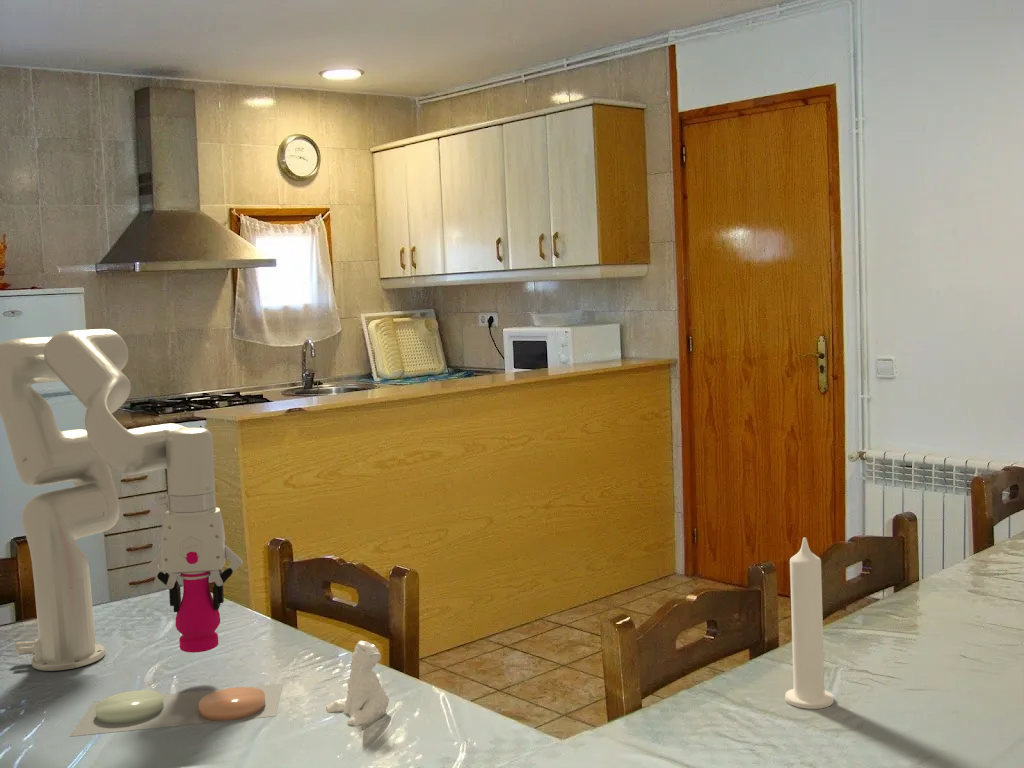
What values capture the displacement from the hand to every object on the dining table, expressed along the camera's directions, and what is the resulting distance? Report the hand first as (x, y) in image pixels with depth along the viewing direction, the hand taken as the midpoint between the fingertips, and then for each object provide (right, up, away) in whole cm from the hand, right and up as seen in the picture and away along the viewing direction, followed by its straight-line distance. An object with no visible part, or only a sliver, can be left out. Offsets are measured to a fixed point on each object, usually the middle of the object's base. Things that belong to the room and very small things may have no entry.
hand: (197, 607), depth 177 cm
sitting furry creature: (+30, -14, -16) cm, 36 cm away
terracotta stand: (+9, -13, -12) cm, 20 cm away
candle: (+98, -10, -18) cm, 100 cm away
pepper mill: (0, -7, +1) cm, 7 cm away
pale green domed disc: (-7, -14, -12) cm, 19 cm away
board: (+1, -15, -11) cm, 19 cm away
